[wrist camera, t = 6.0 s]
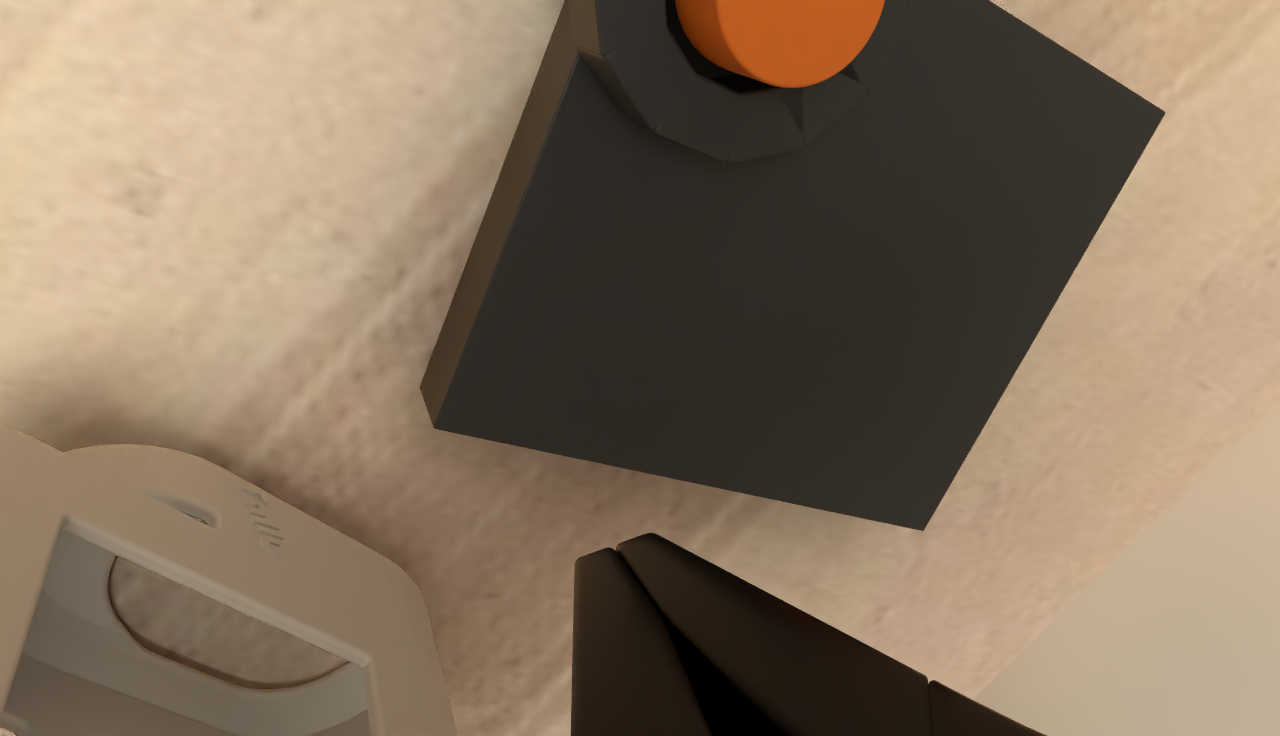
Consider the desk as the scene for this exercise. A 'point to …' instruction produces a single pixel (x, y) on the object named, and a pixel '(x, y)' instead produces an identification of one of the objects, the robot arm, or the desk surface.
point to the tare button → (780, 36)
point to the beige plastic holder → (208, 564)
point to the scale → (781, 253)
